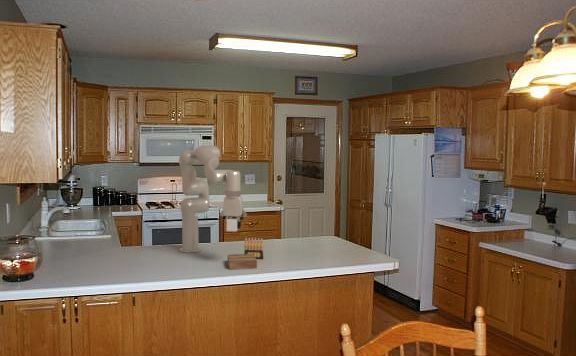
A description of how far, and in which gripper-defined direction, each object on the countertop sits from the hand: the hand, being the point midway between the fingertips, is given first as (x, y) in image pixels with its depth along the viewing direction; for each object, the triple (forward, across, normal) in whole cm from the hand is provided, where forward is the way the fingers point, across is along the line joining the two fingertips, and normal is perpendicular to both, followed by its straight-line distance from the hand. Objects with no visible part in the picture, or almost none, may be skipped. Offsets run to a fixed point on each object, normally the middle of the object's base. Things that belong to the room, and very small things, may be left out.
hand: (233, 228), depth 268 cm
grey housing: (+1, 0, 0) cm, 1 cm away
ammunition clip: (+20, +8, +16) cm, 27 cm away
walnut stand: (+20, +4, 0) cm, 20 cm away
